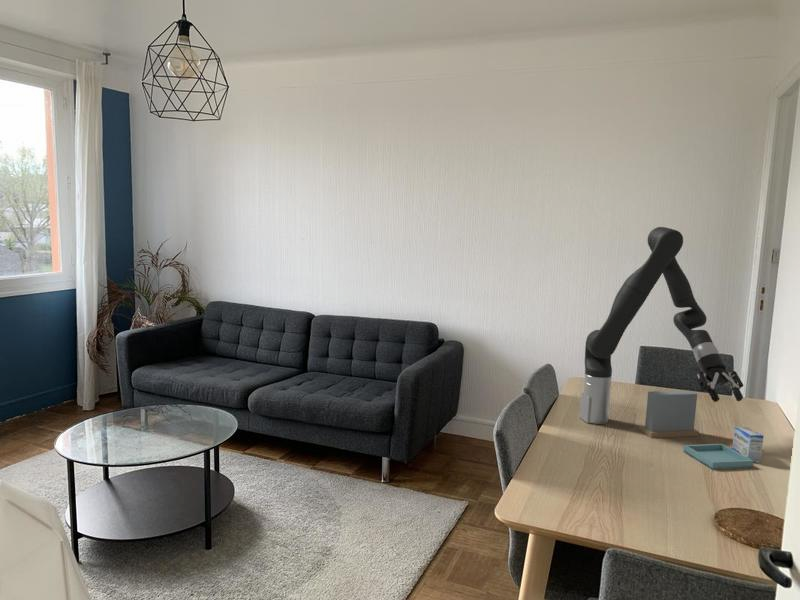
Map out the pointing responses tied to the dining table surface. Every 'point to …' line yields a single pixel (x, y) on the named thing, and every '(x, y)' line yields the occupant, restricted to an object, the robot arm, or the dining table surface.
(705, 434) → the dining table surface
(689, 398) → the slate unit
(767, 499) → the dining table surface
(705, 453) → the teal tray
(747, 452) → the medicine box
